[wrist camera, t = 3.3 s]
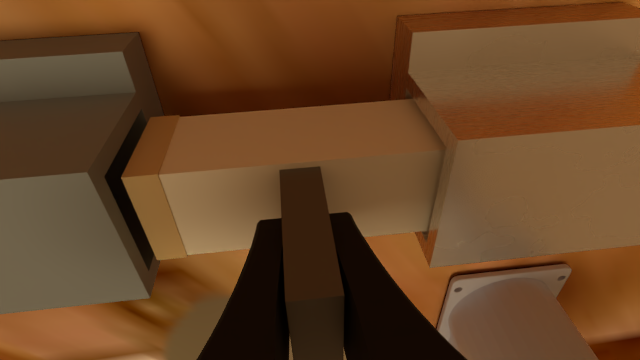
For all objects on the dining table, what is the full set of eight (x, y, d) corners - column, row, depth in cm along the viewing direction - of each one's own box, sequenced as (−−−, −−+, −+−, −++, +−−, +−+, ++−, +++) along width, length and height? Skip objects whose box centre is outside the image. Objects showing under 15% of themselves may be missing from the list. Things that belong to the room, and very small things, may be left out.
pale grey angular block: (532, 87, 15) (733, 245, 8) (507, 163, 17) (651, 333, 10) (150, 117, 14) (51, 320, 7) (176, 193, 16) (116, 401, 9)
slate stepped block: (138, 32, 14) (62, 122, 9) (190, 199, 19) (161, 321, 14) (-8, 41, 14) (-177, 140, 8) (84, 209, 18) (13, 338, 13)
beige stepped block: (621, 1, 15) (806, 65, 10) (552, 166, 20) (651, 266, 15) (396, 16, 15) (469, 91, 9) (382, 182, 19) (424, 292, 14)
